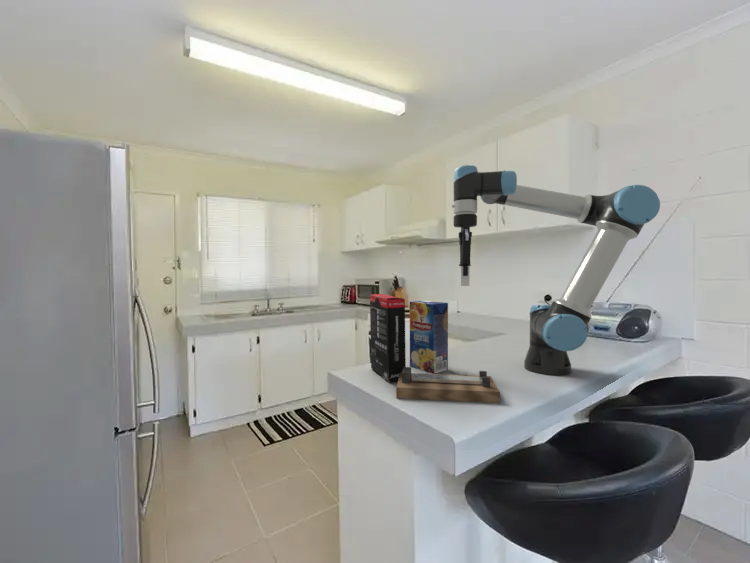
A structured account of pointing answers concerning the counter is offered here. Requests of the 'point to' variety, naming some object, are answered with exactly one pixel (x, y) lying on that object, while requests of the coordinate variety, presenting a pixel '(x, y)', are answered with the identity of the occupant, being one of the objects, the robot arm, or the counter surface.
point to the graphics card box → (387, 335)
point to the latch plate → (447, 389)
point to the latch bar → (447, 379)
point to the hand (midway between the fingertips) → (464, 285)
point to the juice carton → (429, 336)
